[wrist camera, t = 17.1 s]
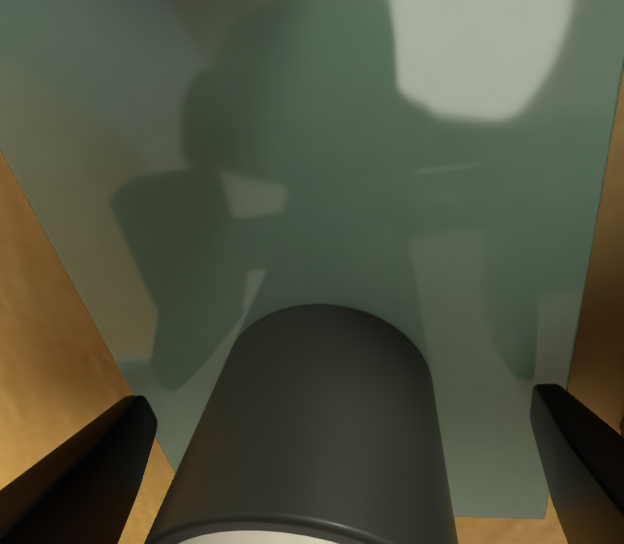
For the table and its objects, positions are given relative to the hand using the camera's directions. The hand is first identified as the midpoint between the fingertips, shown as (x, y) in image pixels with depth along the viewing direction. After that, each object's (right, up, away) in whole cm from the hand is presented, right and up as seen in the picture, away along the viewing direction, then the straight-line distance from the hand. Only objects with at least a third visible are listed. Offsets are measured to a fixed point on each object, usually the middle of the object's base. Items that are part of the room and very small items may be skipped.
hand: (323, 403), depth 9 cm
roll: (0, 0, 0) cm, 0 cm away
